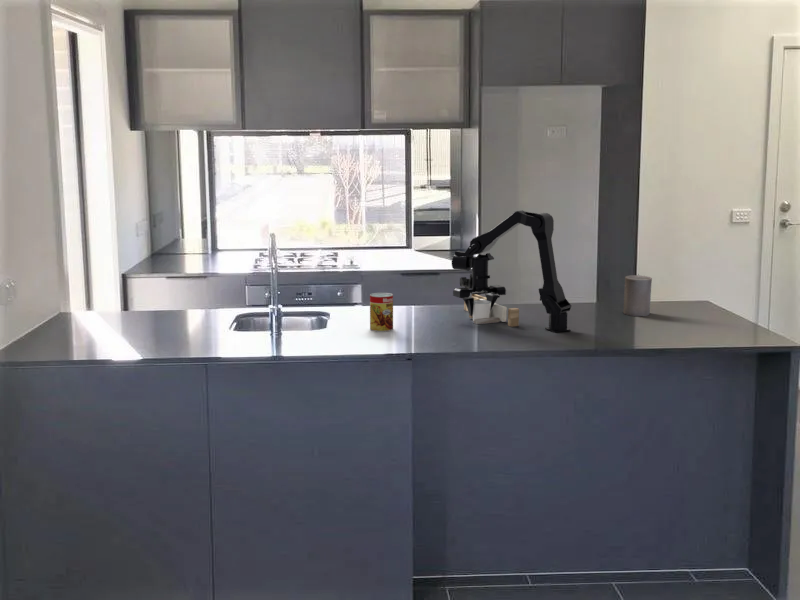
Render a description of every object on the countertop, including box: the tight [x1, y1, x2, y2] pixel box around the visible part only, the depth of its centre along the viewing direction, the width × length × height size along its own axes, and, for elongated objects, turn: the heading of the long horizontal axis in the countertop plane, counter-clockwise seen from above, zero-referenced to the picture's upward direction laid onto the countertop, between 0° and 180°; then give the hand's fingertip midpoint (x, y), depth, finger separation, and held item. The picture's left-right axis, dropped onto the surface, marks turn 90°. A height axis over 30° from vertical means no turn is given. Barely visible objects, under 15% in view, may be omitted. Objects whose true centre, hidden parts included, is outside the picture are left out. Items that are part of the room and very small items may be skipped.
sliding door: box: [468, 299, 507, 323], centre depth 340 cm, size 18×9×5 cm, turn 24°
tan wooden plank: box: [463, 294, 520, 328], centre depth 340 cm, size 34×12×6 cm, turn 24°
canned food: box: [369, 292, 394, 332], centre depth 321 cm, size 8×8×12 cm
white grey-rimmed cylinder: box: [472, 300, 491, 322], centre depth 336 cm, size 7×7×7 cm
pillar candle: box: [622, 273, 653, 317], centre depth 348 cm, size 10×10×15 cm
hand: (479, 315), depth 337 cm, fingers open, 6 cm apart
